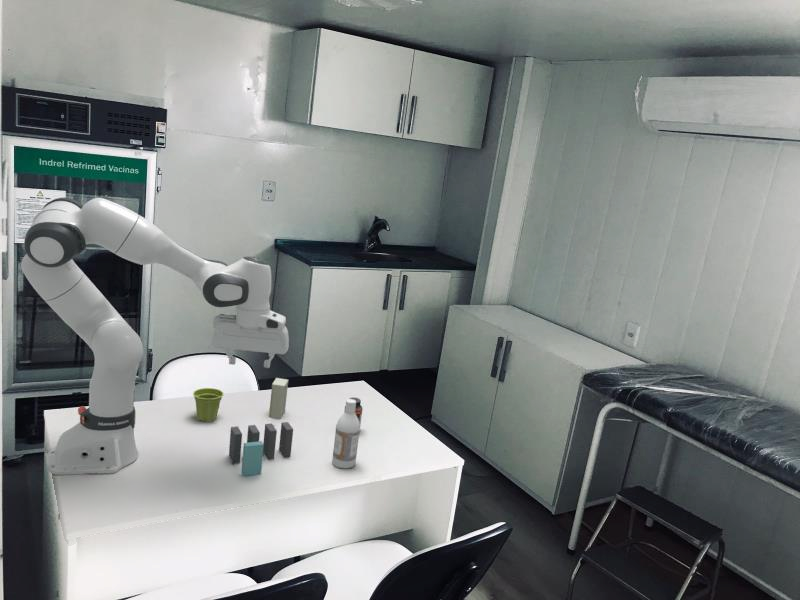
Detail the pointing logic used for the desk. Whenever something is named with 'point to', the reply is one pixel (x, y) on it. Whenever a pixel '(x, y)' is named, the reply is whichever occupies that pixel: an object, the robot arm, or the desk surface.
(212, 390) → the plant pot
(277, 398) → the skincare box
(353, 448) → the bath foam
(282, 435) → the domino
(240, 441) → the domino
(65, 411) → the desk surface
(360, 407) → the supplement bottle
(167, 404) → the desk surface
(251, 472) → the domino
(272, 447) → the domino
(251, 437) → the domino
